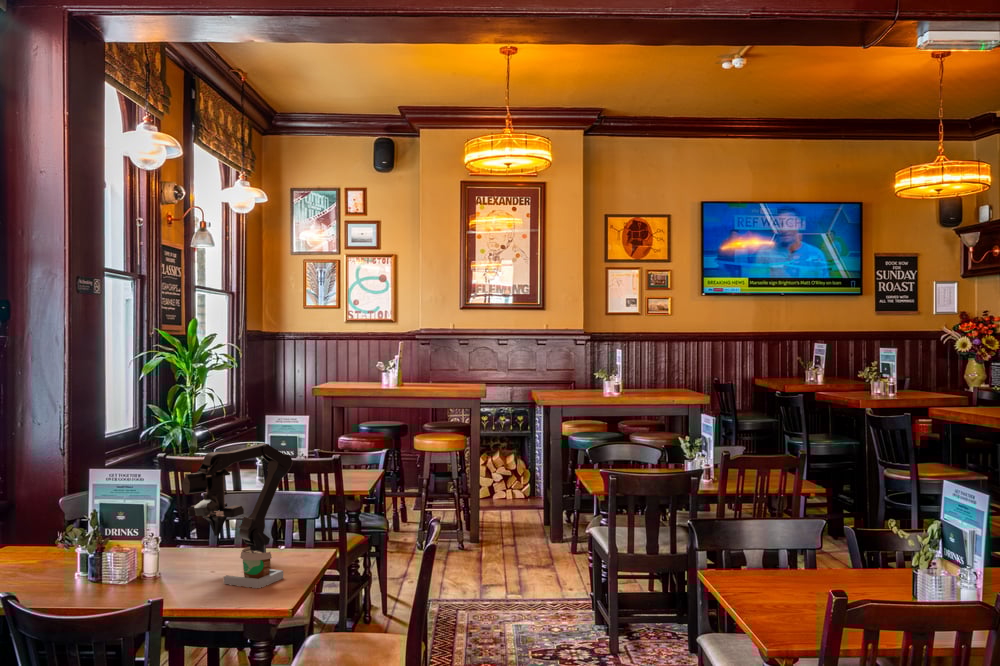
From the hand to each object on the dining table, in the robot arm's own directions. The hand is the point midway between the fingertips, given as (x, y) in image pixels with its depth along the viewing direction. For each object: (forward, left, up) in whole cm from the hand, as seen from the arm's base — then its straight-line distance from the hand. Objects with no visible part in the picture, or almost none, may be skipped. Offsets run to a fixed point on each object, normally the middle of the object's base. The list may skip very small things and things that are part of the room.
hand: (216, 535), depth 271 cm
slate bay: (+6, +20, -12) cm, 24 cm away
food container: (+7, +21, -12) cm, 25 cm away
